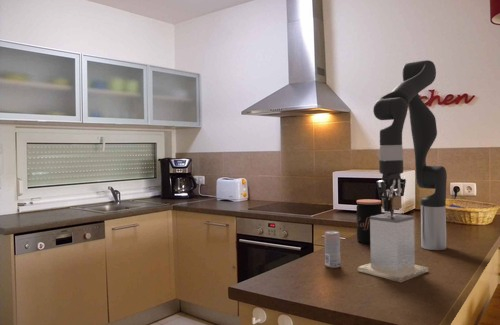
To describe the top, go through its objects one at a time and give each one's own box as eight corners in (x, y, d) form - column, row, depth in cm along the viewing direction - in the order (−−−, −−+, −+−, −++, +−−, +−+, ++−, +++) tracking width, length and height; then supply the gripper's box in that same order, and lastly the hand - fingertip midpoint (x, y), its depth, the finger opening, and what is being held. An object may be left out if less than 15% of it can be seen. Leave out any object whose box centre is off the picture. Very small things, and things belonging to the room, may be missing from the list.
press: (385, 262, 150) (384, 211, 150) (428, 271, 138) (427, 216, 137) (357, 271, 140) (357, 216, 140) (401, 282, 128) (400, 222, 127)
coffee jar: (352, 242, 183) (351, 201, 183) (364, 237, 191) (363, 198, 191) (375, 245, 176) (374, 202, 175) (386, 240, 184) (385, 200, 183)
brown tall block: (389, 255, 144) (388, 194, 143) (408, 259, 138) (407, 196, 138) (376, 259, 140) (375, 196, 139) (396, 264, 134) (395, 198, 133)
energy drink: (338, 263, 150) (337, 230, 150) (342, 267, 145) (341, 233, 145) (323, 264, 150) (323, 230, 150) (326, 268, 145) (326, 233, 144)
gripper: (393, 158, 145) (393, 207, 146) (368, 159, 136) (369, 211, 137) (413, 158, 139) (413, 209, 140) (388, 159, 131) (389, 214, 131)
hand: (391, 210), depth 138 cm, fingers closed on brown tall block, 4 cm apart
